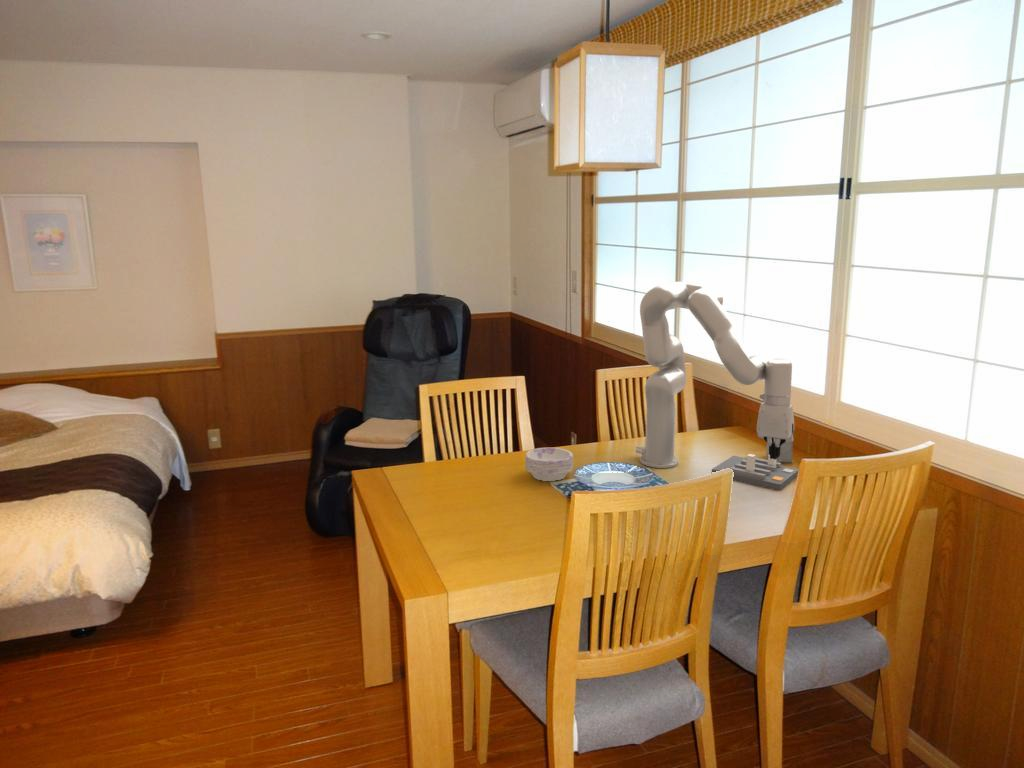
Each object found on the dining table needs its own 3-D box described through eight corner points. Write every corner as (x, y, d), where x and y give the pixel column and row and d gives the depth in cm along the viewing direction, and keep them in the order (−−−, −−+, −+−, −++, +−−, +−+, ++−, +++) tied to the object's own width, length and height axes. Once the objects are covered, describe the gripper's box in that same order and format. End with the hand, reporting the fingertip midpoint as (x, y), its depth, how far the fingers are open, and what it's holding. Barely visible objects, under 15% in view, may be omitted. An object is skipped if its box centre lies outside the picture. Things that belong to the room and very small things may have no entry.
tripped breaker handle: (745, 472, 233) (746, 455, 231) (748, 470, 234) (749, 453, 233) (751, 473, 232) (753, 456, 230) (754, 471, 233) (755, 455, 232)
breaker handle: (767, 467, 237) (768, 450, 236) (769, 465, 239) (770, 448, 238) (773, 468, 236) (774, 451, 235) (775, 466, 238) (777, 450, 236)
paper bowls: (552, 465, 247) (552, 443, 245) (582, 478, 235) (583, 454, 233) (515, 475, 238) (515, 452, 237) (545, 489, 226) (545, 464, 225)
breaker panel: (711, 475, 237) (711, 465, 236) (733, 461, 250) (733, 452, 249) (779, 490, 224) (780, 480, 223) (798, 475, 236) (799, 465, 236)
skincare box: (792, 463, 248) (796, 417, 244) (771, 463, 248) (774, 417, 244) (784, 455, 256) (787, 410, 252) (763, 455, 256) (766, 410, 252)
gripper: (748, 399, 225) (745, 456, 229) (797, 405, 216) (794, 465, 220) (757, 394, 231) (755, 450, 235) (806, 400, 221) (803, 459, 225)
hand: (774, 457), depth 227 cm, fingers closed
